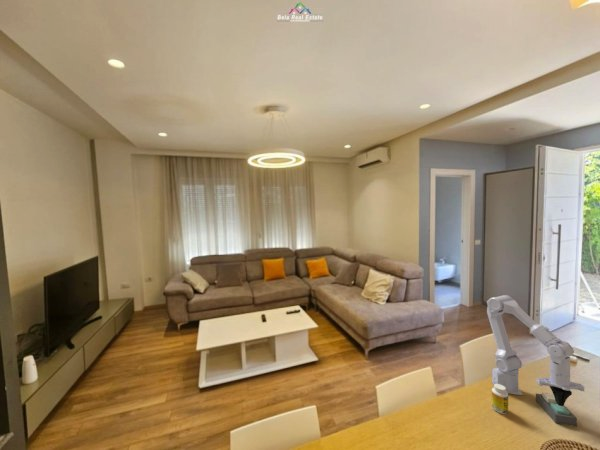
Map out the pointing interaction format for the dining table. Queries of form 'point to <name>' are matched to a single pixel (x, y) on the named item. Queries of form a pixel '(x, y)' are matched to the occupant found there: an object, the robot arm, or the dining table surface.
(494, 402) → the supplement bottle
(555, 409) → the key teal
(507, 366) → the robot arm
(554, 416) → the bezel
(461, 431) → the dining table surface
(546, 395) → the key cream
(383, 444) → the dining table surface
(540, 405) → the board
